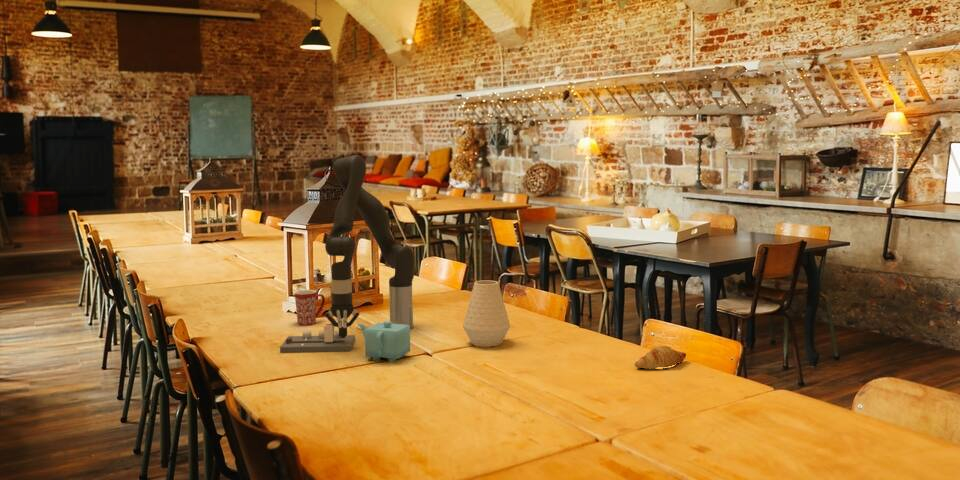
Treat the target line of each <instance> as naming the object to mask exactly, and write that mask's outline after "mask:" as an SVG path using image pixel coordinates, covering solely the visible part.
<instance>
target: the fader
mask: <svg viewBox="0 0 960 480" xmlns="http://www.w3.org/2000/svg"><path fill="white" fill-rule="evenodd" d="M323 330H324V342H333V341H334V339H335V327H334V326H333V324H332V323H331V322H325V324H324V326H323Z"/></svg>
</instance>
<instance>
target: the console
mask: <svg viewBox="0 0 960 480" xmlns="http://www.w3.org/2000/svg"><path fill="white" fill-rule="evenodd" d="M334 334H335V339H334V341H333V342H324V329H322V330H319V331H318V335H312V330H304V331H302V335H288V336H287V337H286V339H285V340H284V341H283V343H282V344H281V345H280V347H279V353H280V354H283V353H291V354H292V353H331V352H332V353H333V352H336V353H337V352H338V353H339V352H341V353H342V352H351V351H352V348H353V346H354V344H355V341H356V334H347V336H345V338H341V336H339V329H337V330H334Z"/></svg>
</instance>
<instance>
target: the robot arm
mask: <svg viewBox="0 0 960 480" xmlns="http://www.w3.org/2000/svg"><path fill="white" fill-rule="evenodd" d="M333 172H334V175H335V177H336V179H337V181H338V182H339V183H340V185H341V186H342V188H343V189H344V193H343V195H342V196H341V198H340V199H339V201H338V203H337V205H336V209H335V213H334V219H333V225H332V227H331V229H330V232H329V234H328V237H327V239H326V241H325V246H324V247H325V248H324V249H325V251H326V254H327V255H328V256H331V257H344V258H343V260H342V261H337V262H333V263H332V264H331V266H330V268H331V269H330V270H331V272H330V273H331V283H330V288H331V289H330V292H331V296H330V297H331V306H330V309H329V310H328V311H327V312H325V314H324V316H325V318H326V319H327V320H328V321H329V323H332V324H333V326H334V328H335V327H337V328H338V330H339V336H341V338H345V336H347V335H348V327H352V325H353V324H354V322H355V321H356V320H357V319H358V317H359V316H360V314H361V313H360V311H358V310H356V309H355V307H354V305H353V304H354V303H353V283H352V263H353V258H354V254H355V251H356V242H355V240H354V238H353V237H351V236H342V235H344V234H349V233H351V231H352V230H353V228H354V220H355V214H356V209H357V210H358V212H359V214H360V217H361V218H362V219H363V221H364V223H365V225H366V226H367V227H368V229H369V231H370V233H371V235H372V237H373V238H374V240H375V241H376V243H377V245H378V248H379V250H380V252H381V254H382V258H383V259H384V261H385V263H386V264H387V265H388V266H389V267H391V268H394V275H393V276H391V277H389V280H388V284H389V285H388V293H389V295H388V297H389V299H388V301H389V302H388V303H389V321H391V322H392V323H391V324H404V325H410V329H413V328H414V303H413V279H414V278H415V254H414V251H413V249H412V248H411V247H409V246H405V245H400V244H398V242H397V240H395V238H394V236H393V234H392V232H391V228H390V227H391V226H390V225H391V224H390V222H391V221H390V217H389V214H388V213H387V210H386V208H385V206H384V205H383V203H382V202H381V201H380V200H379V198H377V197H376V196H375V195H373V194H371V193H370V192H369V191H367V190H366V189H365V188H363V184H364V181H365V178H366V172H367V165H366V161H365V160H364V158H363V157H362V156H361V155H358V154H354V155H349V156H346V157H342V158H338V159H336V160H335V161H334V163H333ZM351 315H352V318H351V319H350V320H349V321H348V318H349V317H350V316H351ZM333 316H334V317H335V318H336V319H337V320H336V319H335V318H334V317H333Z"/></svg>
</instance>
